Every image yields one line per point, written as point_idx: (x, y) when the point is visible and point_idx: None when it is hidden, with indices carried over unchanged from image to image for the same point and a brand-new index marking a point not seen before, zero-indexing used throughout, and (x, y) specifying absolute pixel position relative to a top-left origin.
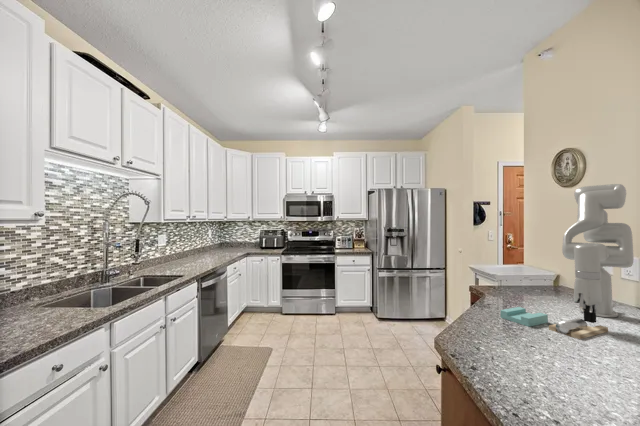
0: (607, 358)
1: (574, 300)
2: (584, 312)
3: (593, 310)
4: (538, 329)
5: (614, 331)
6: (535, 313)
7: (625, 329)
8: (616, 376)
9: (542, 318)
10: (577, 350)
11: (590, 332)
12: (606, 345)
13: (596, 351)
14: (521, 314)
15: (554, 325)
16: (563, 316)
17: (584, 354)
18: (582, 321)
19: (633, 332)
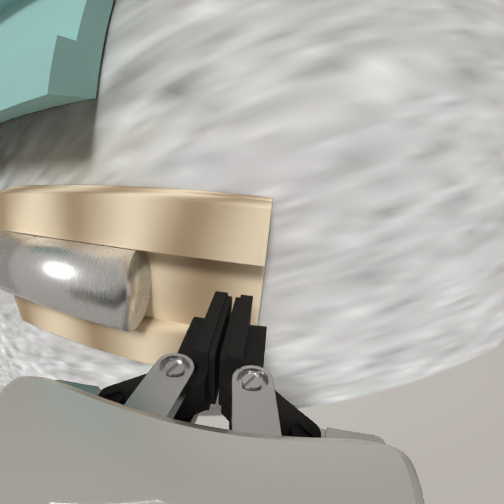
0: (34, 367)
1: (1, 392)
2: (198, 344)
3: (228, 419)
4: (10, 141)
5: (336, 355)
6: (21, 52)
7: (414, 362)
8: (6, 374)
9: (22, 106)
10: (3, 315)
11: (84, 342)
12: (97, 365)
13: (37, 349)
14: (33, 3)
15: (9, 207)
16: (425, 60)
17: (4, 330)
18: (100, 323)
19: (386, 387)
